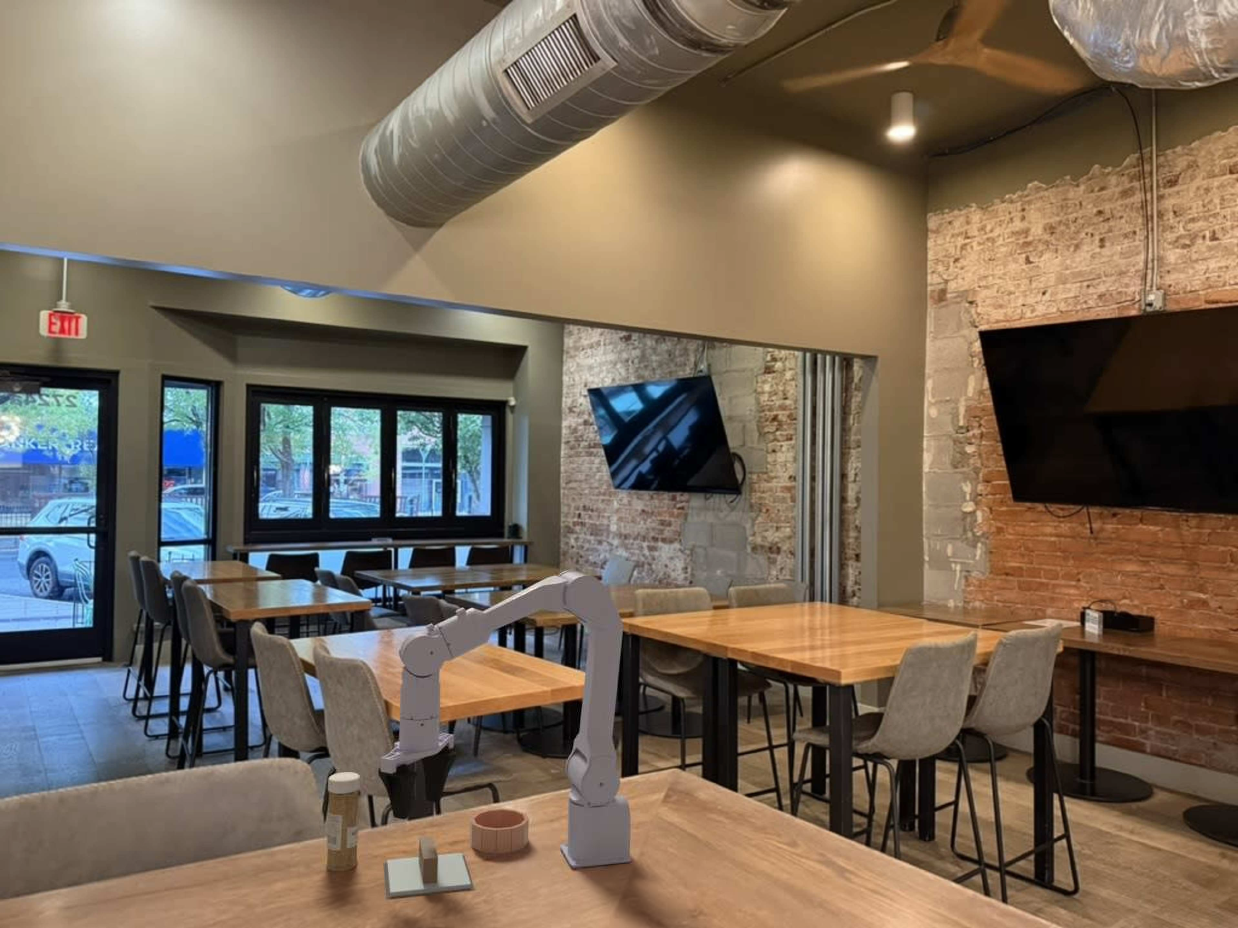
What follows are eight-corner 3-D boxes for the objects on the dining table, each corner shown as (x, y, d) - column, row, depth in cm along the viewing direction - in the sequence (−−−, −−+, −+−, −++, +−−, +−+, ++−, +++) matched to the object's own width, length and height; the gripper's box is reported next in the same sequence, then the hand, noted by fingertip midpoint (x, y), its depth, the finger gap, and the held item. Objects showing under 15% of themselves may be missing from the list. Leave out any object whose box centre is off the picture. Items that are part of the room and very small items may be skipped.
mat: (464, 857, 136) (464, 854, 136) (474, 891, 124) (474, 889, 124) (383, 865, 132) (383, 862, 132) (386, 901, 121) (386, 898, 121)
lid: (461, 856, 135) (462, 829, 135) (470, 887, 125) (471, 858, 125) (387, 863, 132) (387, 836, 132) (390, 896, 121) (391, 866, 121)
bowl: (521, 830, 147) (522, 806, 147) (532, 852, 138) (532, 826, 138) (467, 835, 144) (467, 811, 144) (474, 857, 136) (475, 831, 136)
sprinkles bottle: (361, 869, 131) (364, 777, 131) (330, 876, 128) (333, 782, 129) (352, 858, 135) (355, 769, 135) (321, 864, 132) (324, 773, 133)
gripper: (428, 701, 138) (426, 789, 137) (364, 723, 125) (362, 820, 124) (465, 707, 135) (463, 797, 134) (404, 729, 122) (402, 829, 121)
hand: (417, 808), depth 129 cm, fingers open, 7 cm apart
